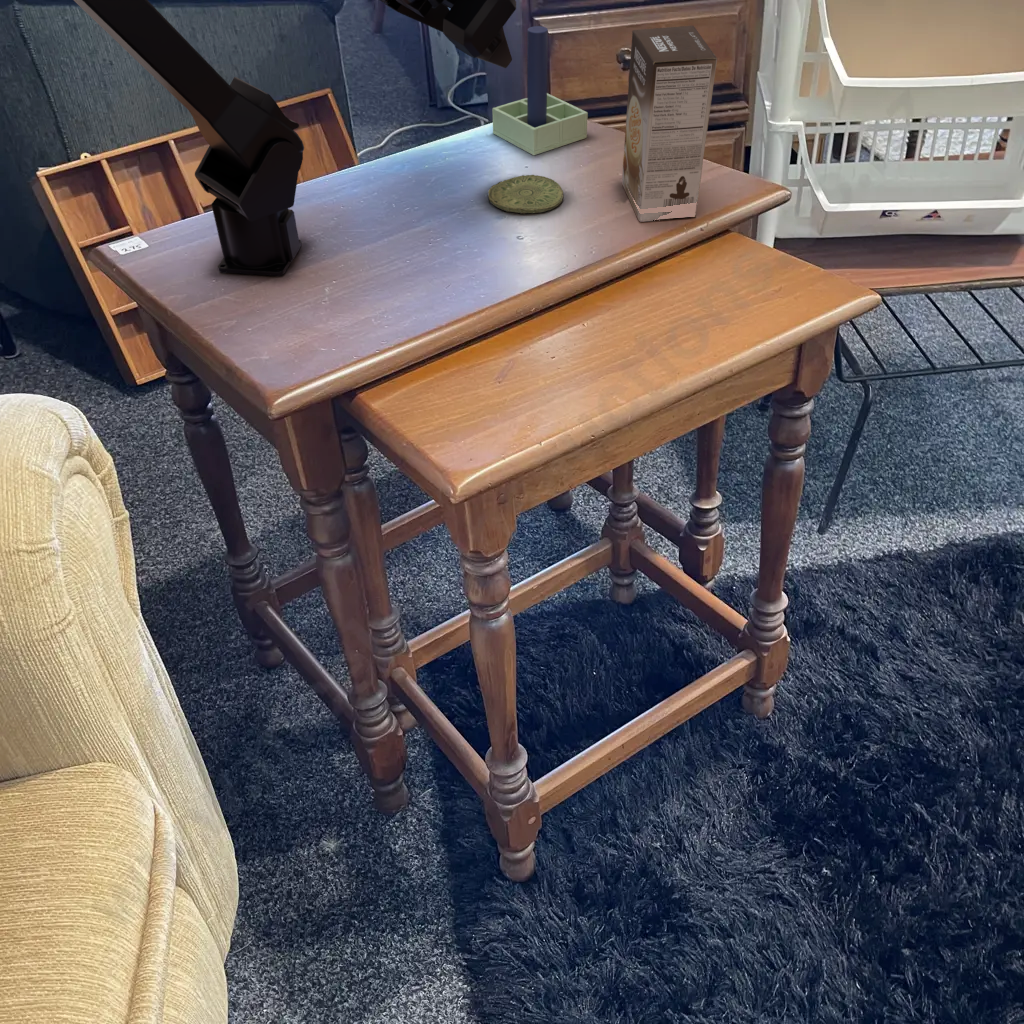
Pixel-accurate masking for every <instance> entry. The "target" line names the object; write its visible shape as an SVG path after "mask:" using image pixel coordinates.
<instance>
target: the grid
mask: <svg viewBox="0 0 1024 1024" xmlns="http://www.w3.org/2000/svg"><path fill="white" fill-rule="evenodd" d="M491 111H492V134H494V135H495V136H496V137H499V138H500V139H502V140H505V141H506V142H507V143H510V144H512V145H514V146H515V147H516V148H517V147H518V148H519V149H521V150H523V151H525V152H527V153H528V154H530V155H532V156H536V155H540V154H542V153H545V152H549V151H551V150H554V149H557V148H561V147H563V146H567V145H569V144H573V143H576V142H578V141H581V140H584V139H587V138H588V117H589V115H588V114H589V113H588V111H585V110H583V109H581V108H580V107H577V106H575V105H573V104H571V103H568V102H566V101H565V100H562V99H560V98H558V97H556V96H554V95H552V94H549V92H547V124H545V125H541V126H538V127H535V128H534V127H532V126H530V125H528V124H527V97H525V98H522V99H518V100H515V101H512V102H508V103H505V104H502V105H498V106H496V107H495V106H494V107H492V110H491Z"/></svg>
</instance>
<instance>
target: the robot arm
mask: <svg viewBox="0 0 1024 1024" xmlns="http://www.w3.org/2000/svg"><path fill="white" fill-rule="evenodd" d="M73 1H74V2H75V3H76V4H77V6H79V7H80V8H81V10H83V11H84V12H85V13H86V15H88V16H89V17H90V18H92V19H93V21H95V22H96V23H97V25H98V26H100V27H101V28H102V29H103V30H104V31H105V32H106V33H107V34H108V35H109V36H110V37H111V38H112V39H113V40H115V41H116V42H117V44H119V46H120V47H122V48H123V49H124V50H125V52H127V53H128V54H129V55H130V56H131V57H132V58H133V59H134V60H135V61H136V62H137V63H139V64H140V66H142V67H143V69H144V70H146V71H147V72H148V74H150V75H151V76H152V77H153V78H154V79H155V80H156V81H157V82H158V83H159V84H160V85H162V86H163V87H164V89H166V91H168V92H169V93H170V94H171V95H172V96H173V97H174V98H175V99H176V100H177V101H178V102H179V103H180V104H181V105H183V106H184V107H185V109H187V111H188V112H189V113H190V115H191V116H192V118H193V121H194V122H195V124H196V127H197V128H198V131H199V133H200V134H201V136H202V137H203V139H204V140H205V141H206V142H207V144H208V145H209V146H208V147H207V149H206V151H205V153H204V155H203V156H202V159H201V161H200V162H199V164H198V165H197V168H196V170H195V171H194V177H195V179H196V180H197V182H198V183H199V185H200V186H201V188H202V189H203V191H204V192H206V193H207V194H210V195H212V196H214V197H215V199H213V201H212V203H211V204H210V206H211V210H212V213H213V218H214V223H215V226H216V231H217V235H218V240H219V244H220V248H221V252H222V256H223V258H222V259H221V261H220V262H219V263H218V265H217V269H218V272H220V273H227V274H241V275H242V274H243V275H244V274H245V275H254V276H255V275H257V276H258V275H259V276H271V277H280V276H284V274H285V273H286V272H287V270H288V268H289V266H290V265H291V263H292V262H293V261H294V259H295V258H296V256H297V254H298V253H299V251H300V249H301V246H302V240H301V239H300V238H299V232H298V227H297V226H298V225H297V220H296V215H295V211H294V210H293V209H292V208H293V207H294V205H295V199H296V193H297V185H298V178H299V172H300V170H301V167H302V164H303V160H304V150H305V146H304V145H305V144H304V143H303V139H302V138H301V137H300V135H299V134H298V132H296V131H295V130H296V129H298V128H299V127H300V124H299V123H298V122H296V121H294V120H292V119H290V118H288V117H287V116H286V115H285V114H284V112H283V111H282V109H281V108H280V106H279V105H278V103H277V101H276V100H275V99H274V97H272V96H271V95H270V94H269V93H267V92H265V91H264V90H261V89H260V88H258V87H256V86H254V85H252V84H250V83H249V82H247V81H244V80H242V79H241V78H239V77H238V76H234V77H232V80H231V82H230V84H229V83H228V82H227V80H226V79H224V78H223V77H222V76H221V75H220V73H219V72H218V71H217V70H216V69H214V68H213V66H212V65H211V64H210V63H209V62H208V61H207V60H206V59H205V58H204V57H203V56H202V55H201V54H200V53H199V52H198V51H197V50H196V49H195V47H193V46H192V45H191V44H190V42H189V41H188V40H187V39H186V38H185V37H184V36H183V35H182V34H181V33H180V32H179V31H178V30H177V29H176V28H175V26H173V25H172V24H171V23H170V22H169V21H168V20H167V19H166V18H165V16H164V15H162V13H161V12H160V11H159V10H158V9H157V8H156V7H155V6H154V5H153V4H152V3H151V2H150V1H149V0H73ZM379 2H381V3H383V4H384V5H385V6H387V7H389V8H390V9H391V10H393V11H395V12H397V13H398V14H401V15H402V16H405V17H408V18H410V19H412V20H414V21H417V22H418V23H421V24H424V25H426V26H428V27H430V28H432V29H434V30H437V31H439V32H441V33H443V35H444V37H446V39H447V40H448V41H449V42H450V43H451V44H452V45H454V47H455V48H456V49H457V50H458V51H460V52H462V53H464V54H465V55H467V56H469V57H471V58H473V59H475V58H476V59H479V60H481V61H484V62H487V63H489V64H493V65H495V66H498V67H501V68H504V69H507V68H508V67H509V65H510V64H511V62H512V61H513V57H512V53H511V51H510V47H509V43H508V41H507V37H506V34H505V30H504V26H505V25H506V23H507V22H508V21H509V19H510V18H511V16H512V15H513V14H514V13H515V11H516V10H517V1H516V0H379Z"/></svg>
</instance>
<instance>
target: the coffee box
mask: <svg viewBox="0 0 1024 1024" xmlns="http://www.w3.org/2000/svg"><path fill="white" fill-rule="evenodd" d="M631 32H632V33H631V35H632V36H631V47H630V59H629V60H630V61H629V73H628V75H629V77H628V86H627V87H628V88H627V105H626V114H625V115H626V117H625V130H624V144H623V159H622V175H621V184H622V187H623V189H624V192H625V194H626V196H627V198H628V201H629V203H630V204H631V207H632V209H633V211H634V213H635V216H636V218H637V220H638V221H639V223H645V222H656V221H655V219H656V220H657V219H658V218H659V217H660V216H663V215H667V214H669V213H671V212H672V211H671V212H658V213H644V214H640V213H639V211H638V209H637V207H636V205H635V203H634V201H633V199H632V197H633V198H634V200H635V202H636V204H637V205H638V206H639V208H640V209H648V208H657V207H666V206H673V205H680V204H687V203H688V204H690V203H696V202H698V203H699V195H700V188H701V181H702V180H701V179H702V174H703V173H702V171H703V164H704V158H705V157H704V156H705V149H706V144H707V135H708V129H709V122H710V114H711V106H712V99H713V91H714V84H715V76H716V70H717V63H718V57H717V56H716V55H715V53H714V51H713V50H712V49H711V48H710V47H709V45H708V44H707V42H706V41H705V39H704V38H703V37H702V35H701V34H700V33H699V31H698V29H697V27H696V26H694V25H684V26H683V25H682V26H671V27H670V26H669V27H653V28H641V29H634V30H632V31H631ZM628 189H629V190H628ZM629 191H630V193H631V195H632V197H631V195H630V193H629ZM653 220H654V221H653Z"/></svg>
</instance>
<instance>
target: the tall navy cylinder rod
mask: <svg viewBox="0 0 1024 1024" xmlns="http://www.w3.org/2000/svg"><path fill="white" fill-rule="evenodd" d="M526 34H527V36H526V37H527V38H526V39H527V46H526V47H527V50H526V51H527V54H526V55H527V62H526V63H527V65H526V66H527V73H526V75H527V78H526V79H527V86H526V87H527V90H526V91H527V97H526V98H527V124H528V125H530V126H532V127H534V128H535V127H538V126H541V125H545V124H547V93H548V50H549V48H548V47H549V44H548V43H549V29H548V27H545V26H542V25H534V26H530V27H528V28H527V33H526Z"/></svg>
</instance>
